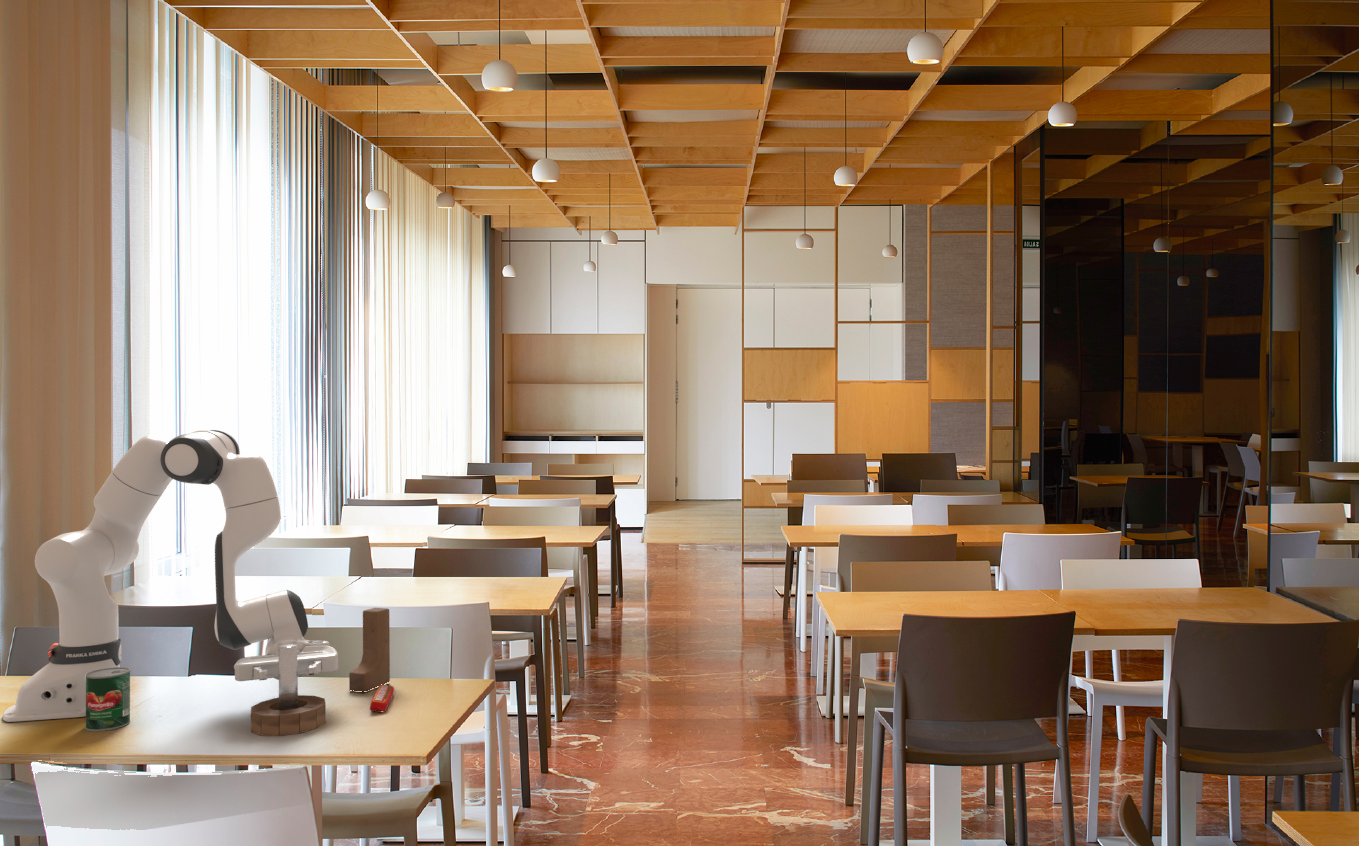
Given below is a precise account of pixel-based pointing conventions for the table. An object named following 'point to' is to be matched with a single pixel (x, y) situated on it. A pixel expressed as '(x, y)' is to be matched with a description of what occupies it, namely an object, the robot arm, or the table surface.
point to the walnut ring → (288, 716)
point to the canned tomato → (107, 699)
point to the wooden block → (373, 652)
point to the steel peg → (288, 677)
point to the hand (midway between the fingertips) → (288, 673)
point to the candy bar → (382, 698)
